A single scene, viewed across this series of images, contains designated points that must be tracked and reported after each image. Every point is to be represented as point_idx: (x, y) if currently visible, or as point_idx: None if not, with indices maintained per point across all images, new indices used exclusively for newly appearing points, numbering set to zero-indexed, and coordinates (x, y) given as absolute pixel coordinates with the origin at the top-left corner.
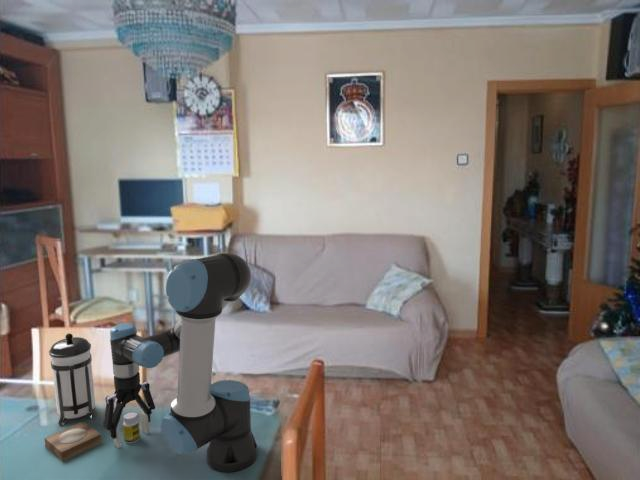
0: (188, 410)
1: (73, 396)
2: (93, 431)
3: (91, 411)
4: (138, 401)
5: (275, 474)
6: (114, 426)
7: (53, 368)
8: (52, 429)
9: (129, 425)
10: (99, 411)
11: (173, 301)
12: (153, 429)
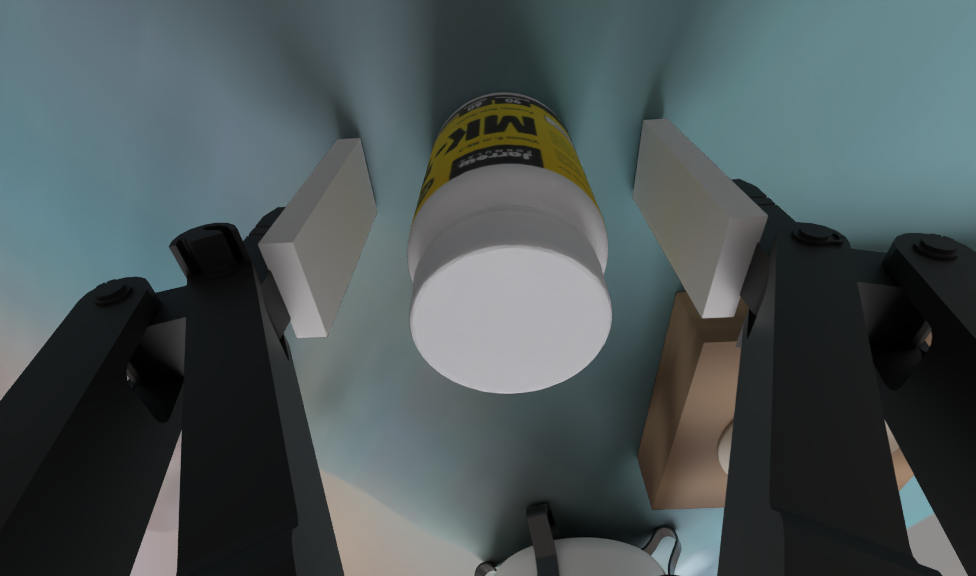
0: None
1: None
2: (701, 402)
3: (544, 546)
4: (298, 518)
5: None
6: (832, 248)
7: None
8: (713, 525)
9: (574, 197)
10: (485, 524)
11: None
12: (282, 173)
